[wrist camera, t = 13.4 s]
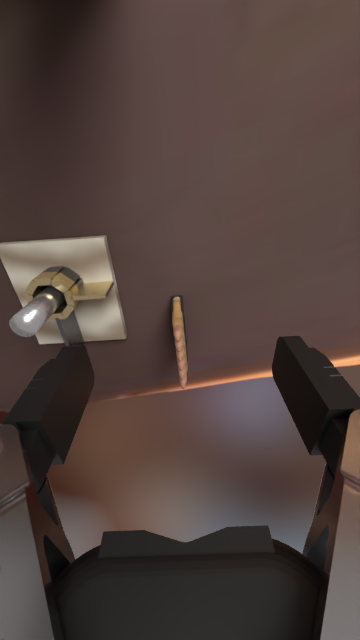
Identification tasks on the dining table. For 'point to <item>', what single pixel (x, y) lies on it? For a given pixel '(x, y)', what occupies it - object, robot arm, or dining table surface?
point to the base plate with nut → (69, 286)
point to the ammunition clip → (180, 337)
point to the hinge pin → (36, 312)
